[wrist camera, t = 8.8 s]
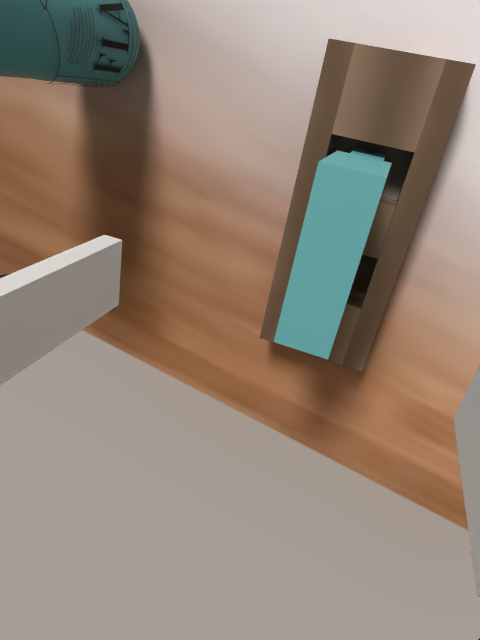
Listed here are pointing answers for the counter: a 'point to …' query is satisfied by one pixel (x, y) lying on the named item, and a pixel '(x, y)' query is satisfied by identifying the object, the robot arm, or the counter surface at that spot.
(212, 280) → the counter surface
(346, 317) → the rail
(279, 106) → the counter surface
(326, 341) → the notched teal block
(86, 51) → the beverage bottle
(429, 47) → the counter surface
